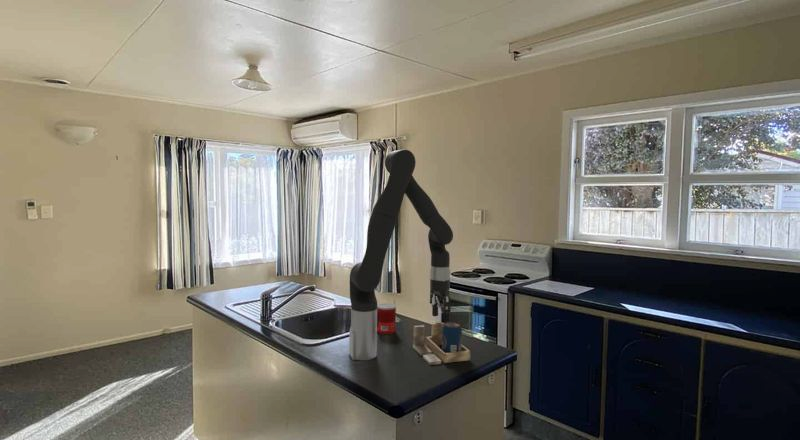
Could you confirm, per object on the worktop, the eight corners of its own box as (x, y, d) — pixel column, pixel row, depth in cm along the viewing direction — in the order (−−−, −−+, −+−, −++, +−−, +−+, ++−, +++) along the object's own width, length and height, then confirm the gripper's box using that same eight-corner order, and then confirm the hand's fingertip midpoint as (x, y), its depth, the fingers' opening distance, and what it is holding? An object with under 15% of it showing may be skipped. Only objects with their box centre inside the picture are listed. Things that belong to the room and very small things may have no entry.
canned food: (398, 332, 175) (399, 306, 174) (382, 335, 170) (383, 309, 169) (388, 327, 181) (389, 302, 180) (373, 330, 176) (373, 304, 176)
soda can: (440, 353, 153) (440, 321, 152) (458, 353, 153) (459, 321, 152) (443, 361, 146) (444, 327, 145) (462, 361, 146) (463, 327, 145)
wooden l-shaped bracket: (429, 365, 142) (430, 341, 142) (412, 347, 158) (413, 326, 158) (441, 363, 143) (441, 340, 143) (423, 346, 160) (423, 325, 159)
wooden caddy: (443, 363, 143) (444, 339, 143) (425, 345, 160) (425, 323, 159) (470, 360, 146) (470, 336, 146) (449, 342, 163) (449, 321, 162)
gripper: (424, 274, 164) (423, 314, 166) (438, 282, 151) (437, 326, 152) (441, 273, 167) (441, 313, 168) (457, 280, 153) (456, 324, 154)
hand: (439, 319), depth 160 cm, fingers open, 8 cm apart
